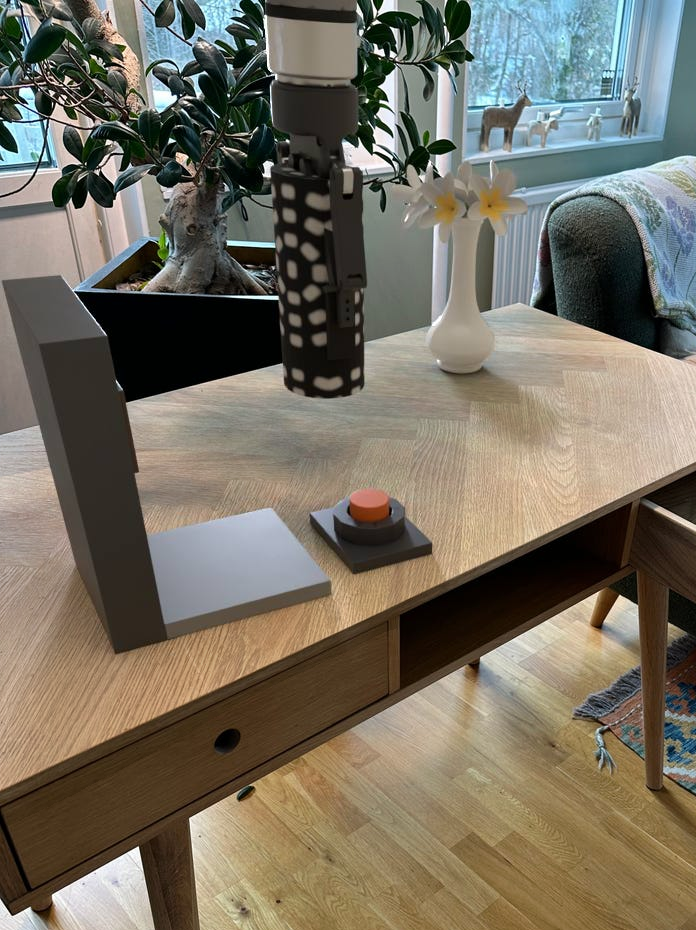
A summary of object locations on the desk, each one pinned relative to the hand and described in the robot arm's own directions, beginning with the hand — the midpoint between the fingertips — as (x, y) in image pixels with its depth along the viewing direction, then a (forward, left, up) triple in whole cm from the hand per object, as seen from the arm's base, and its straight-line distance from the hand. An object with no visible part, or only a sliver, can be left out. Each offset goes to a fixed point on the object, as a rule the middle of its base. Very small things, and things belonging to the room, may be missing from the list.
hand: (323, 342), depth 89 cm
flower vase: (-18, +26, -13) cm, 34 cm away
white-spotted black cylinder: (0, 0, -5) cm, 5 cm away
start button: (+18, -4, -10) cm, 21 cm away
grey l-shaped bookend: (+18, -20, -12) cm, 29 cm away
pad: (+18, -4, -12) cm, 22 cm away
